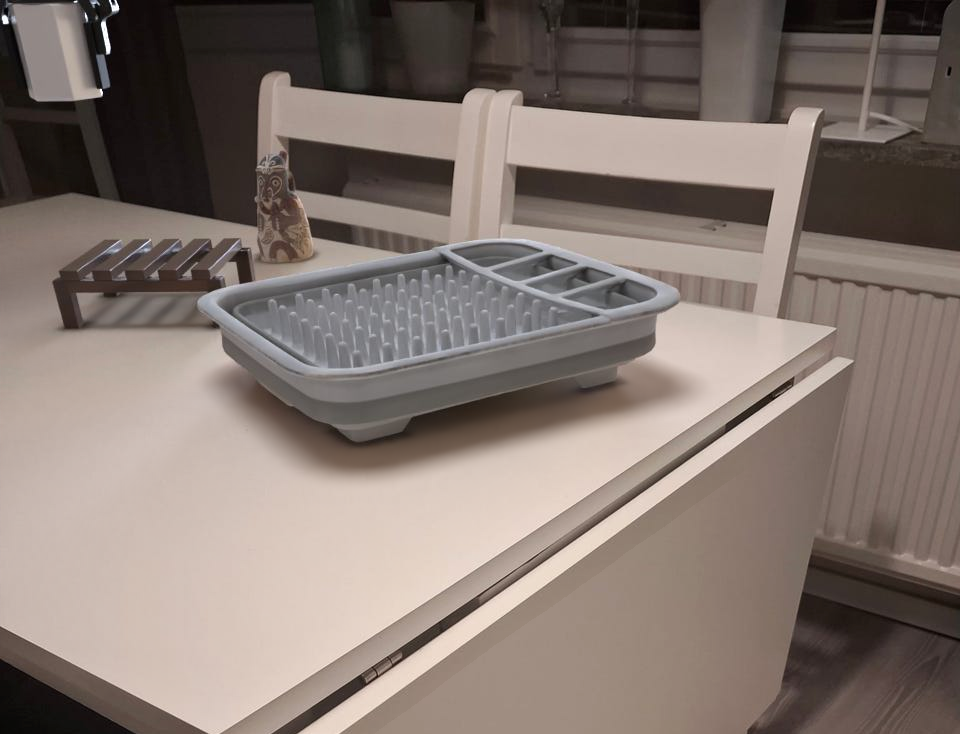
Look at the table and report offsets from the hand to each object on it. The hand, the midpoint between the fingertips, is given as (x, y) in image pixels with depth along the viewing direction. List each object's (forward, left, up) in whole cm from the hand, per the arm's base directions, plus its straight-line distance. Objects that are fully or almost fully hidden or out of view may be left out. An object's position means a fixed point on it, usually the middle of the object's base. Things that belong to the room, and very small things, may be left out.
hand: (64, 88), depth 122 cm
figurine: (+25, 0, -19) cm, 31 cm away
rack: (+16, -24, -19) cm, 35 cm away
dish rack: (+48, -47, -19) cm, 70 cm away
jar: (0, 0, -1) cm, 1 cm away
